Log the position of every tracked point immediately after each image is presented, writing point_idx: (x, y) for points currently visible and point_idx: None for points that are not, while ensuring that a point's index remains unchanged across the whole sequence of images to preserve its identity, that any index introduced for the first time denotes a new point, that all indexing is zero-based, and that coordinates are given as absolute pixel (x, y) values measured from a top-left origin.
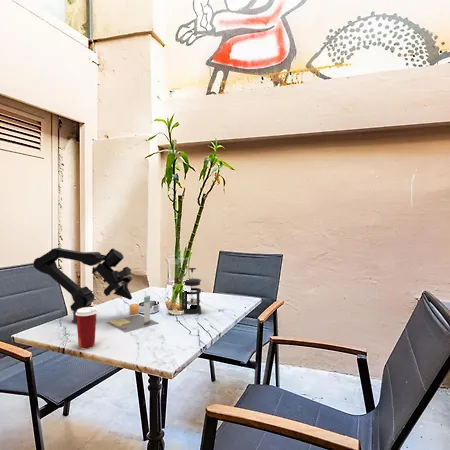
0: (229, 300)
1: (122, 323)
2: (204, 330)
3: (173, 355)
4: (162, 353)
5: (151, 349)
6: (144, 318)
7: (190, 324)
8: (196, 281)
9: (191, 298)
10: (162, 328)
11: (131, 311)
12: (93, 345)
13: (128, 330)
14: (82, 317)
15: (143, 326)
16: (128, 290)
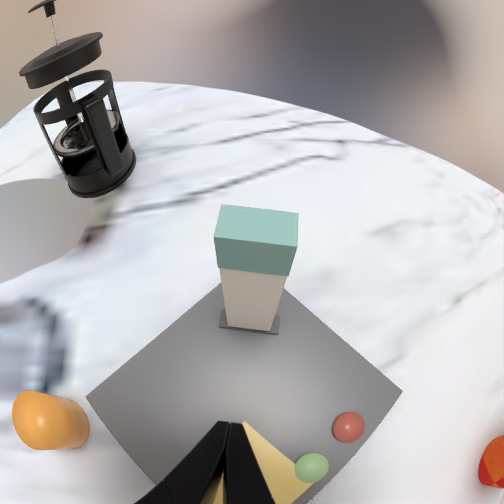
0: (33, 120)
1: (277, 461)
2: (297, 129)
3: (471, 195)
4: (476, 217)
5: (473, 246)
6: (271, 323)
7: (238, 158)
8: (95, 34)
9: (82, 122)
10: None
11: (73, 439)
12: (500, 436)
13: (375, 387)
14: None
15: (307, 329)
16: (168, 496)
